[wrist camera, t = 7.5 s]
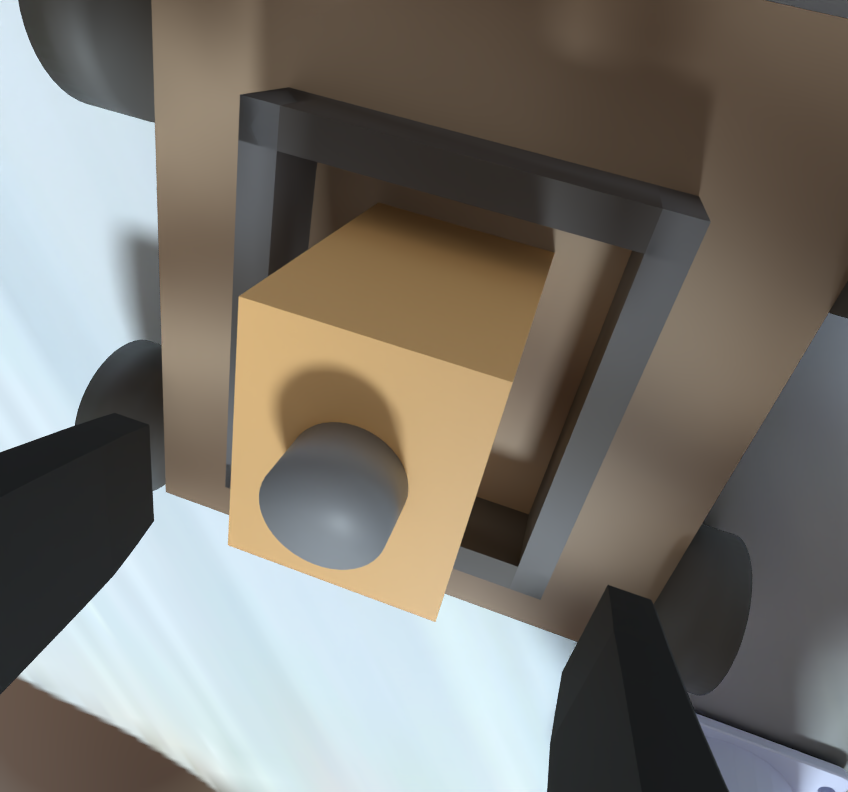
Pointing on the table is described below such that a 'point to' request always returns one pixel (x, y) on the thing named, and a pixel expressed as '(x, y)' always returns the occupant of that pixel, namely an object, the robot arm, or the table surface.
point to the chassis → (515, 220)
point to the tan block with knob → (376, 399)
